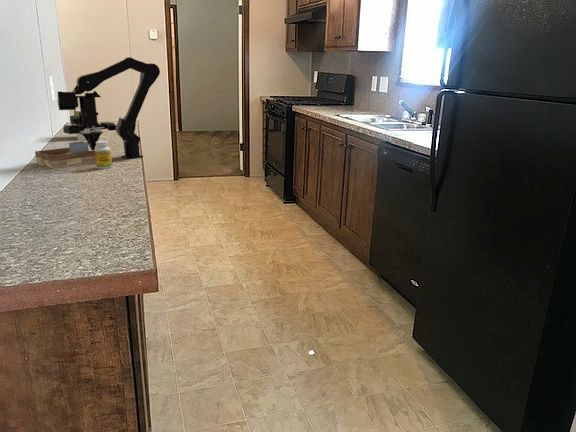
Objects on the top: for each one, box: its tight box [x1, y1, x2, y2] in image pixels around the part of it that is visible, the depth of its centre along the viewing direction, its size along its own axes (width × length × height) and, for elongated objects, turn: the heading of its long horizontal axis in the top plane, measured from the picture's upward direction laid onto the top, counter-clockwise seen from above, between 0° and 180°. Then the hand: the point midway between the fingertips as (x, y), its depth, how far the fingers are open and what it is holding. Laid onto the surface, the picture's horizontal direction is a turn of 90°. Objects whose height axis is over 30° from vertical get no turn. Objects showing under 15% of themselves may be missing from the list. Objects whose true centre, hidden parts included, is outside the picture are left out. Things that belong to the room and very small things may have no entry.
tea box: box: [73, 107, 91, 141], centre depth 240 cm, size 15×10×15 cm, turn 25°
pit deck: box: [34, 147, 96, 169], centre depth 182 cm, size 14×20×4 cm
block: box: [68, 140, 90, 153], centre depth 181 cm, size 5×5×5 cm
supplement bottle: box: [94, 140, 113, 170], centre depth 172 cm, size 5×5×10 cm
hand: (92, 150), depth 185 cm, fingers closed
